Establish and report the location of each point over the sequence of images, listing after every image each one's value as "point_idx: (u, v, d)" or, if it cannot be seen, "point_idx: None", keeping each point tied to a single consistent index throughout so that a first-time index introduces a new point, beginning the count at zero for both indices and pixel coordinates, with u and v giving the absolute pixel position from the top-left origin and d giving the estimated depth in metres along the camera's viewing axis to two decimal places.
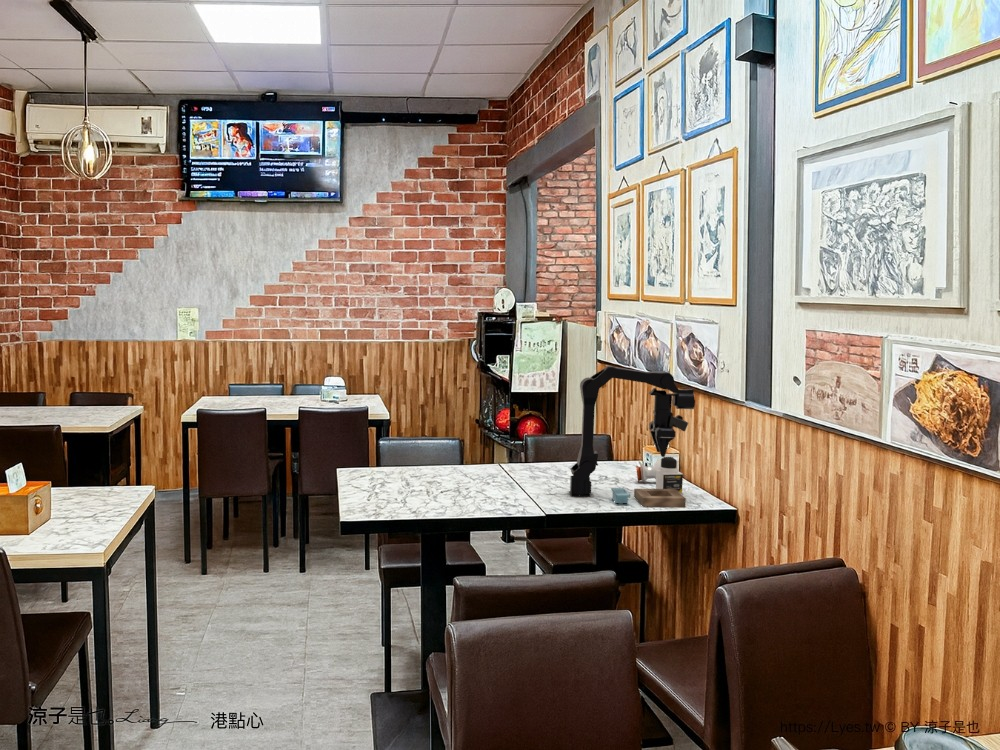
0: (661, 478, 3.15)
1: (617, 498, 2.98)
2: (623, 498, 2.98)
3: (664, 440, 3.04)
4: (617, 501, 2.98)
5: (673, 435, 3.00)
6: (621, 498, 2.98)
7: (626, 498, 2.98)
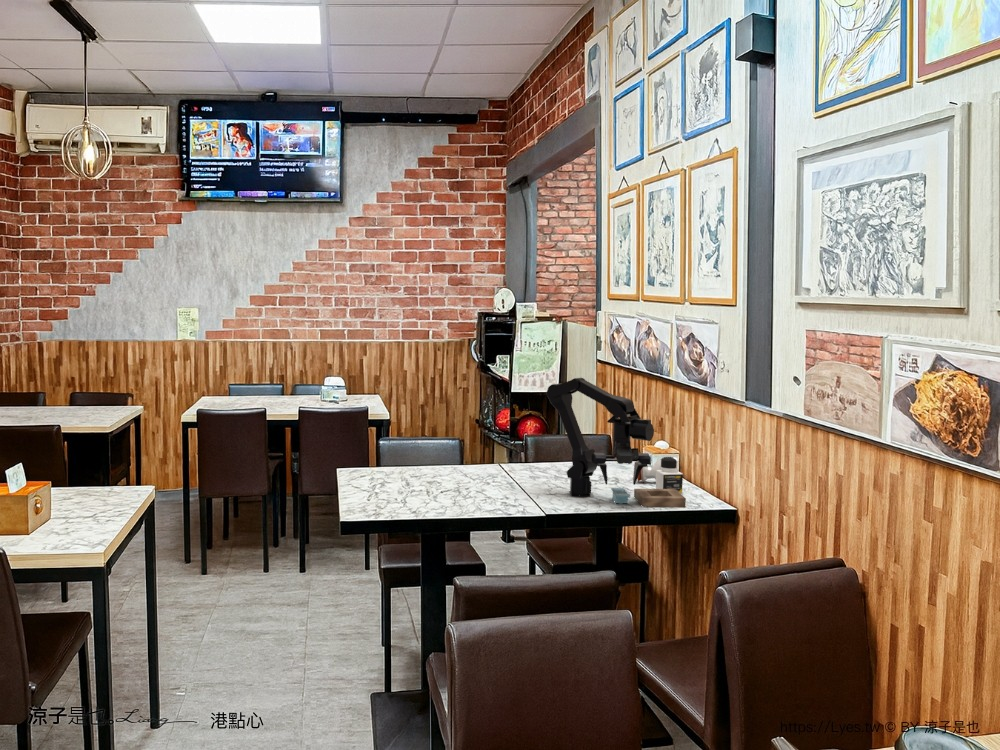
0: (661, 478, 3.15)
1: (617, 498, 2.98)
2: (623, 498, 2.98)
3: None
4: (617, 501, 2.98)
5: (593, 461, 2.97)
6: (621, 498, 2.98)
7: (626, 498, 2.98)
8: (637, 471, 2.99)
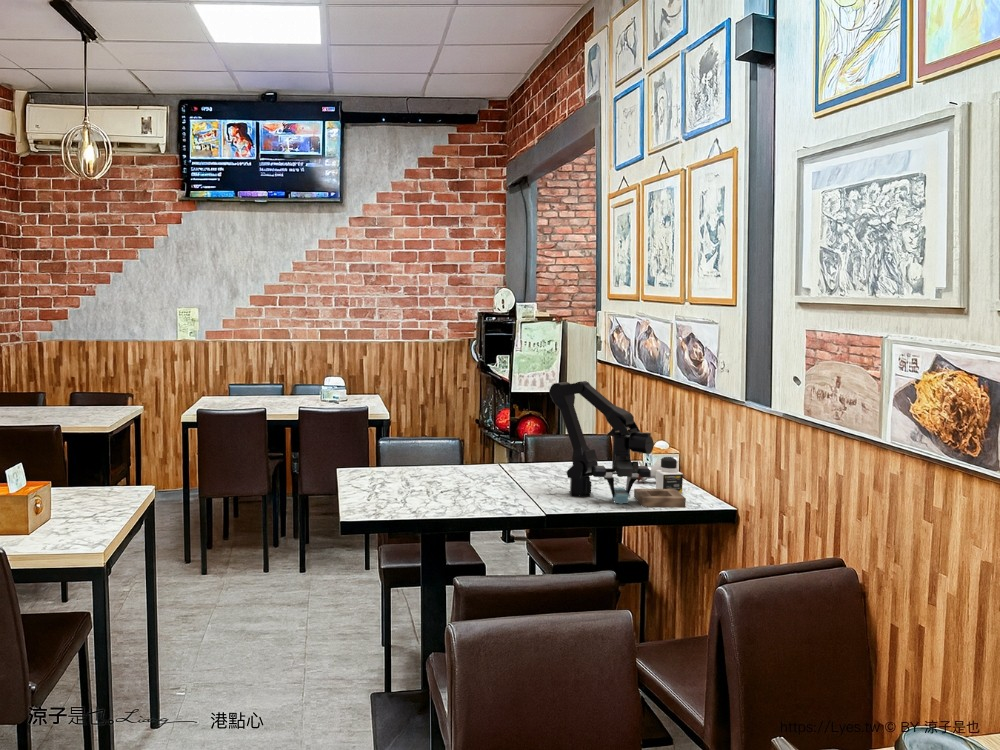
0: (661, 478, 3.15)
1: (617, 498, 2.98)
2: (623, 498, 2.98)
3: None
4: (617, 501, 2.98)
5: (593, 474, 2.97)
6: (621, 498, 2.98)
7: (626, 498, 2.98)
8: (630, 484, 2.99)
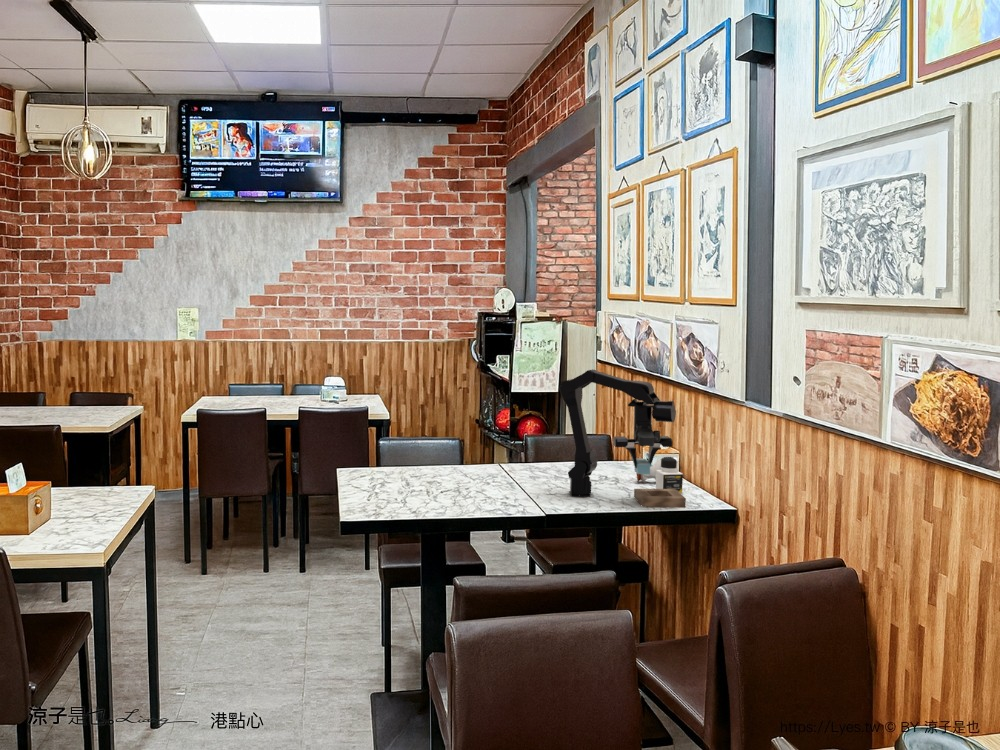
0: (661, 478, 3.15)
1: (639, 468, 2.97)
2: (645, 468, 2.97)
3: None
4: (639, 471, 2.97)
5: (615, 444, 2.97)
6: (643, 468, 2.97)
7: (648, 468, 2.97)
8: (652, 454, 2.98)
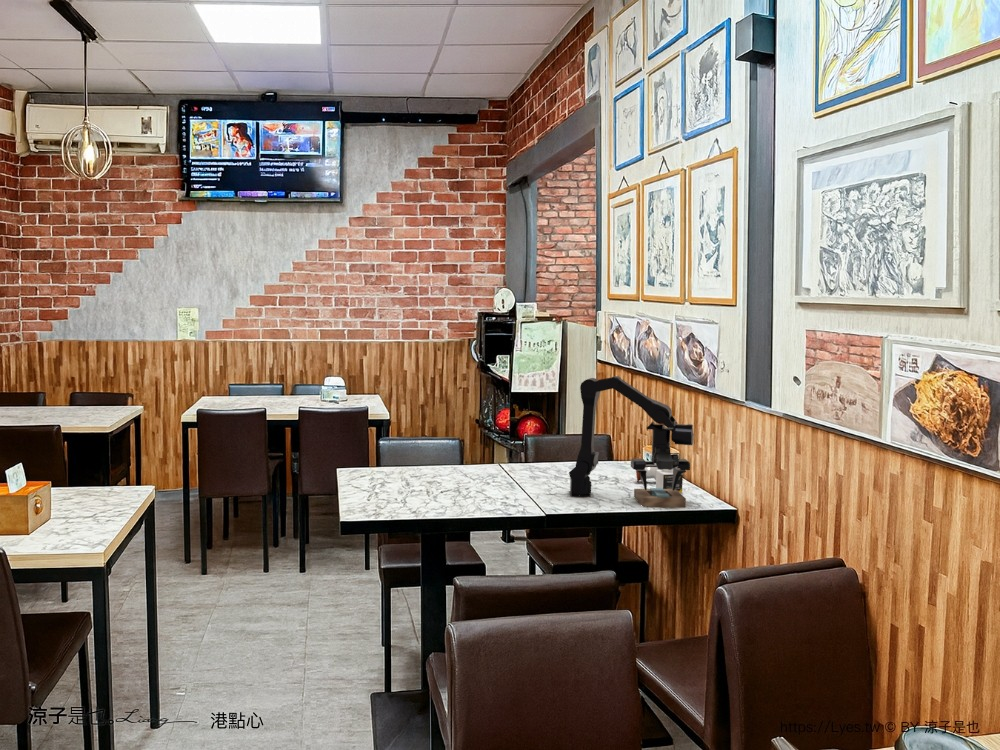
0: (661, 478, 3.15)
1: None
2: None
3: None
4: None
5: (633, 467, 2.98)
6: None
7: None
8: (676, 477, 3.00)
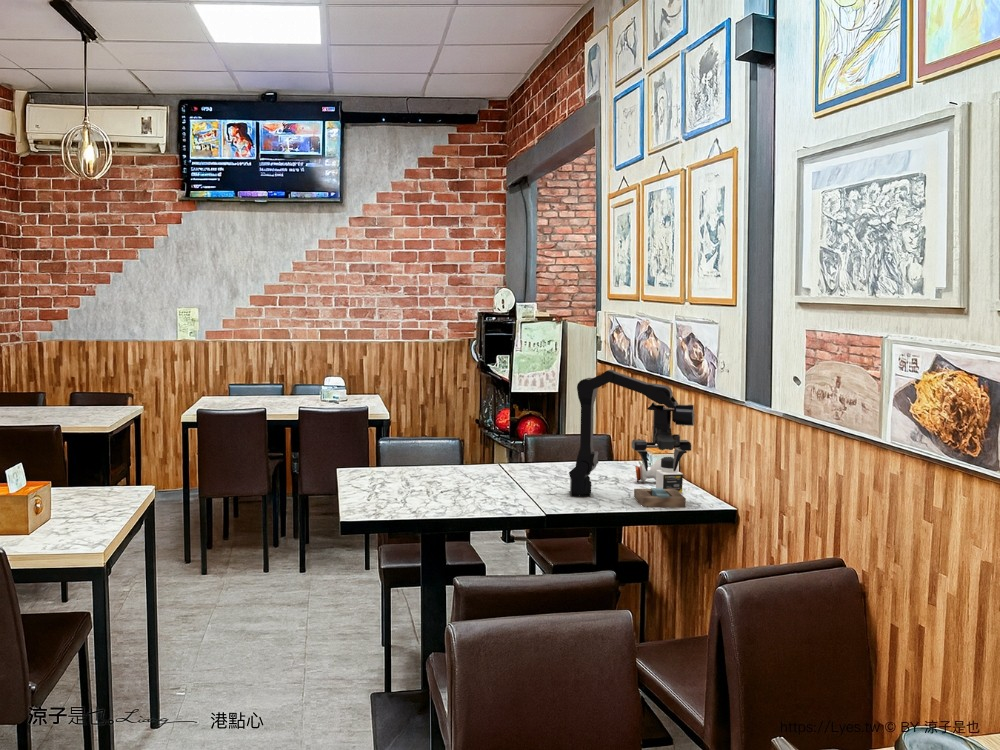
0: (661, 478, 3.15)
1: None
2: None
3: None
4: None
5: (634, 448, 2.97)
6: None
7: None
8: (677, 457, 2.99)
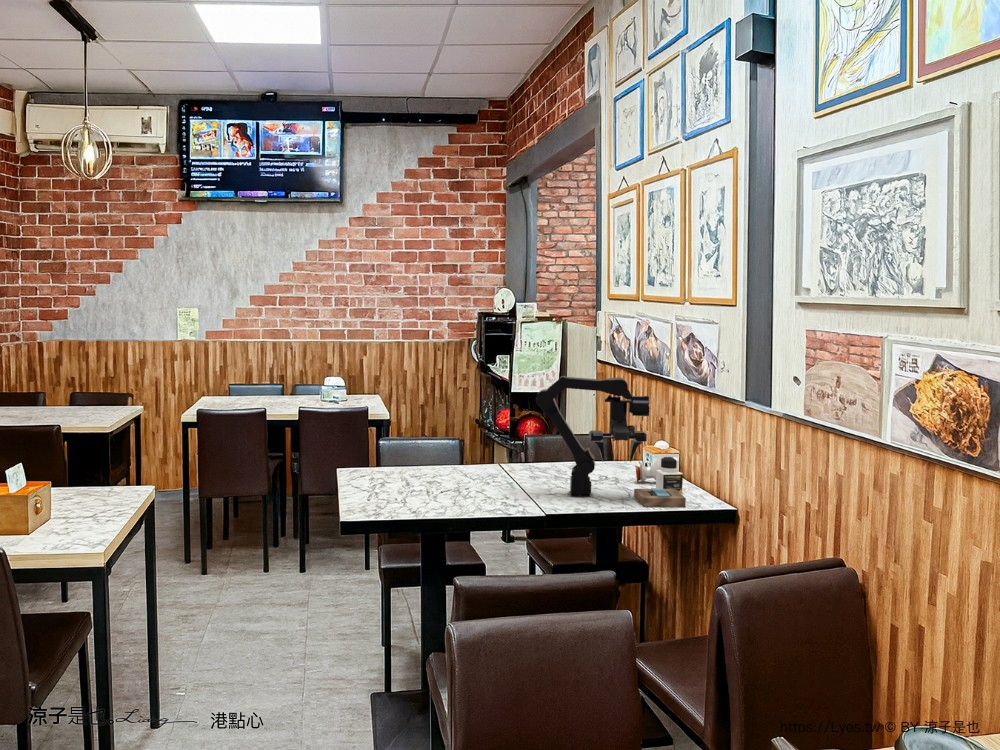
0: (661, 478, 3.15)
1: None
2: None
3: None
4: None
5: (591, 438, 3.04)
6: None
7: None
8: (633, 448, 3.06)
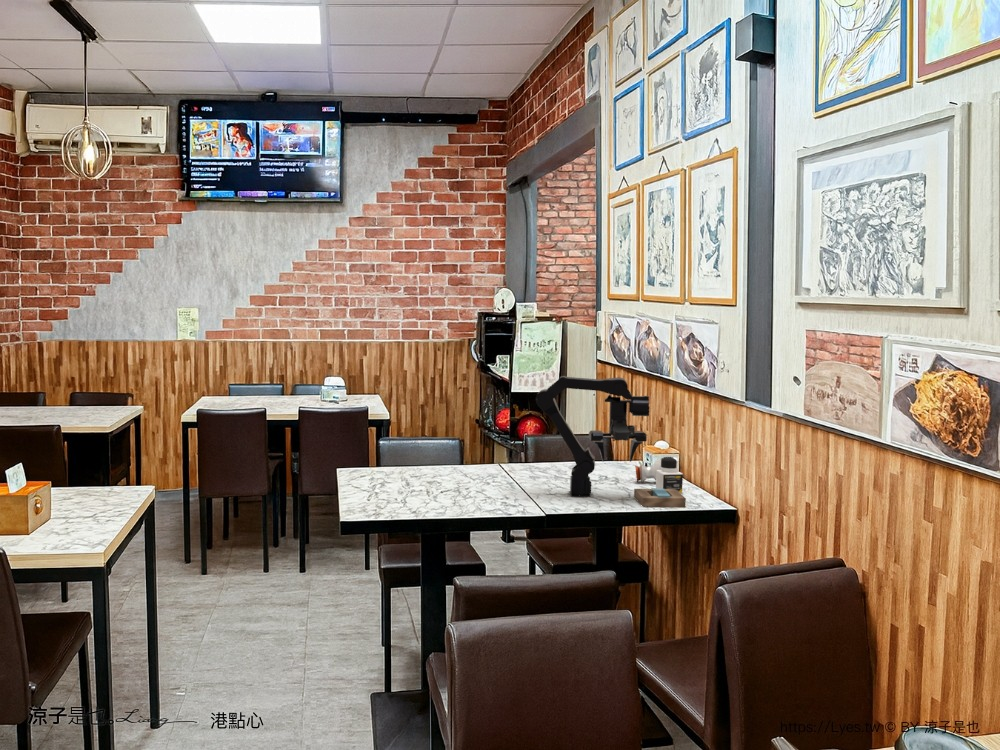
0: (661, 478, 3.15)
1: None
2: None
3: None
4: None
5: (591, 438, 3.04)
6: None
7: None
8: (633, 448, 3.06)
